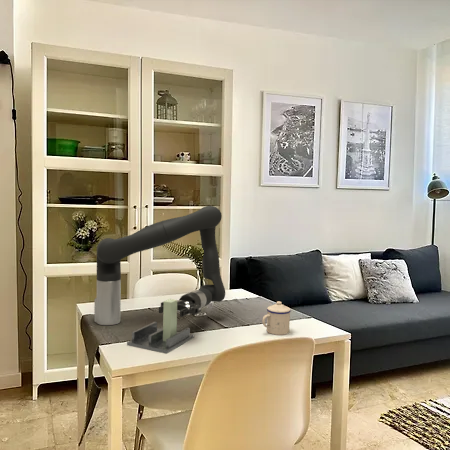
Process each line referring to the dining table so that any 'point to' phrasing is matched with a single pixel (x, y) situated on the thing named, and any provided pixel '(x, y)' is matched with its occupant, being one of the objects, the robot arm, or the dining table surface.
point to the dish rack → (158, 338)
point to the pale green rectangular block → (169, 318)
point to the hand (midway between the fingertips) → (170, 312)
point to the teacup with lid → (277, 319)
